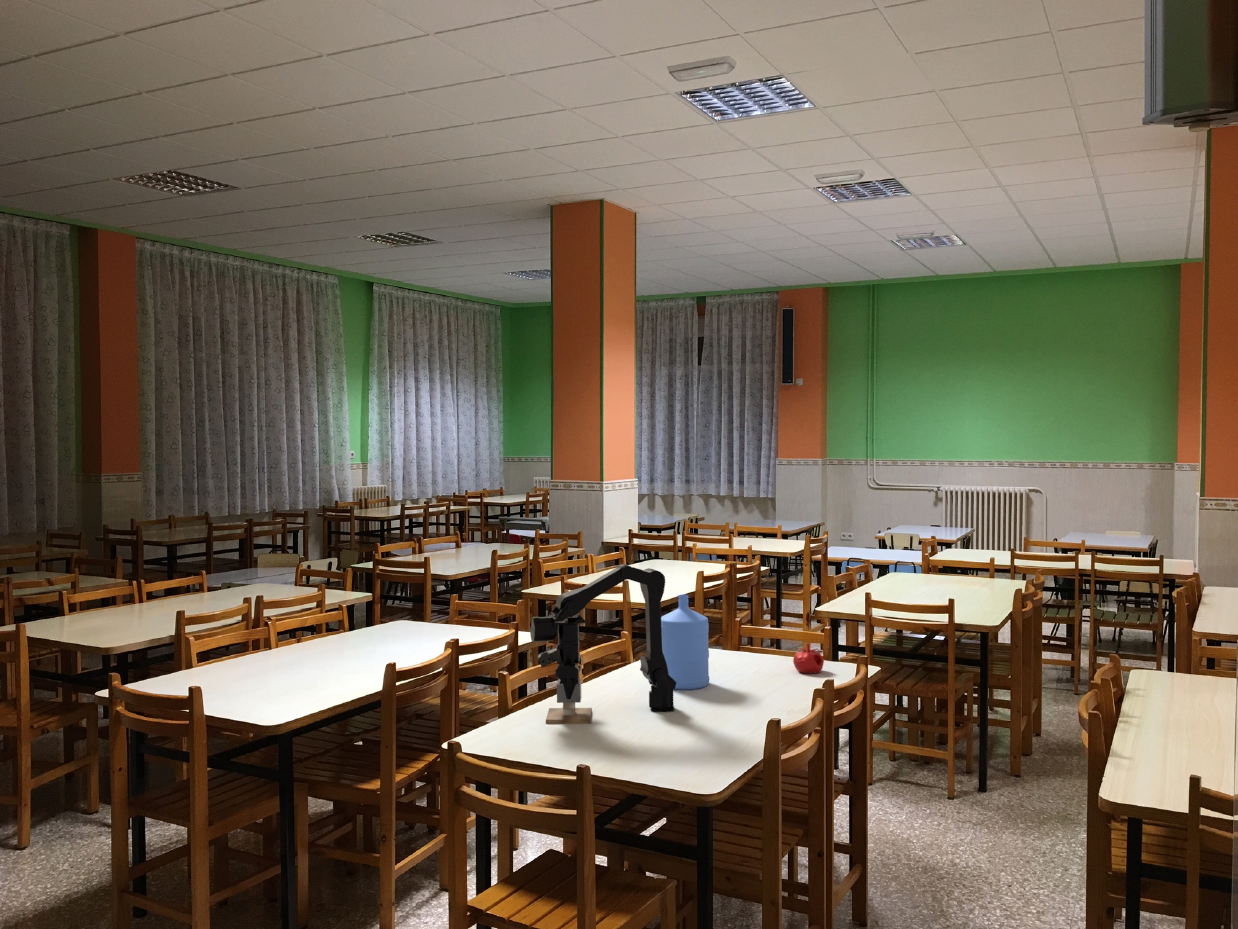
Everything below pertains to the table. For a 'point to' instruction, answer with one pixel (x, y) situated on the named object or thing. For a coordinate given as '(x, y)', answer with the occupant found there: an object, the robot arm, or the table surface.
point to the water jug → (686, 646)
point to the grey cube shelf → (562, 696)
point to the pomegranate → (808, 661)
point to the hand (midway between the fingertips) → (569, 696)
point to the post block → (569, 714)
